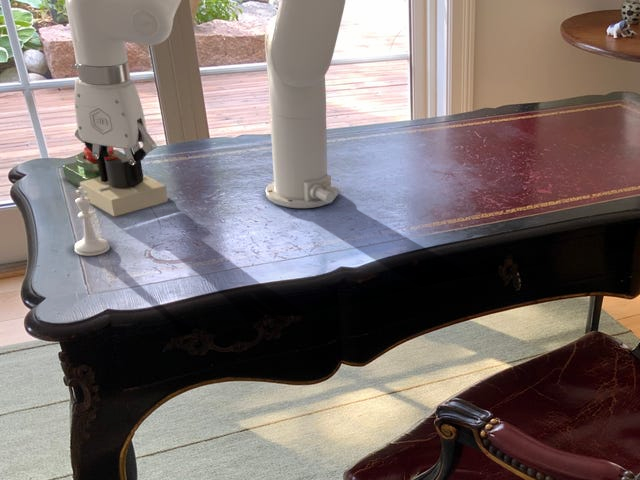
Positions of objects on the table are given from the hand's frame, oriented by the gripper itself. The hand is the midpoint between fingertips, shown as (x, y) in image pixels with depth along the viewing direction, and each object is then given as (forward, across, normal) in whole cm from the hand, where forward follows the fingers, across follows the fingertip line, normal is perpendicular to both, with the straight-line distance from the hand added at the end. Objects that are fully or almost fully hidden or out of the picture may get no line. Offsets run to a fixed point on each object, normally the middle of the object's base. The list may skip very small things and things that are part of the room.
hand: (122, 180), depth 139 cm
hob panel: (+4, 0, 0) cm, 4 cm away
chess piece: (+4, +6, -18) cm, 19 cm away
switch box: (+4, -8, +6) cm, 11 cm away
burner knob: (0, 0, 0) cm, 0 cm away
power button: (-1, -8, +6) cm, 10 cm away
